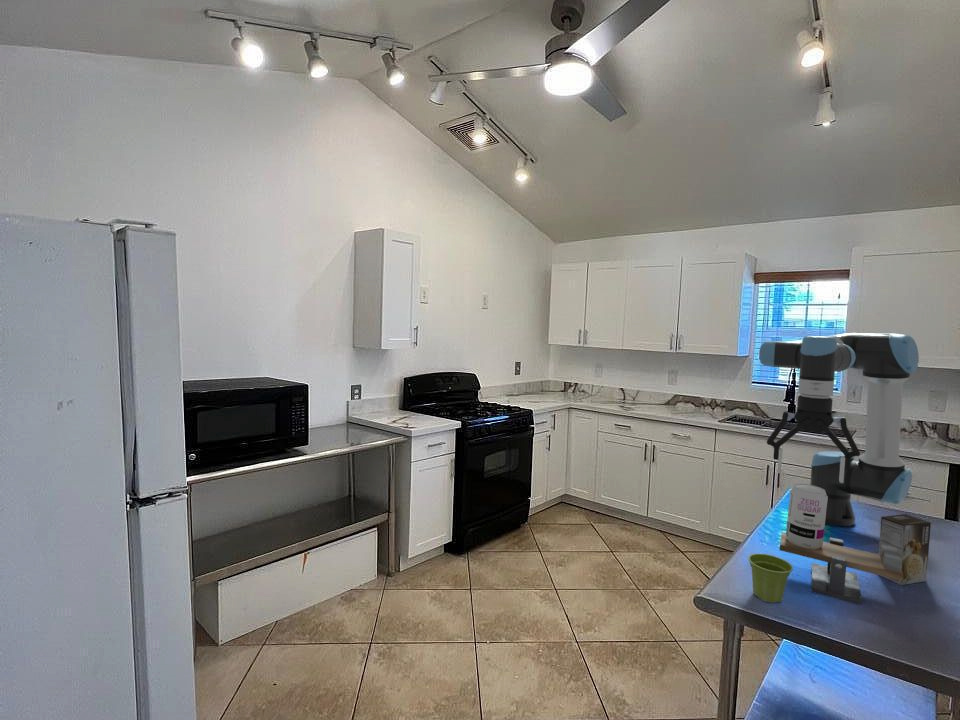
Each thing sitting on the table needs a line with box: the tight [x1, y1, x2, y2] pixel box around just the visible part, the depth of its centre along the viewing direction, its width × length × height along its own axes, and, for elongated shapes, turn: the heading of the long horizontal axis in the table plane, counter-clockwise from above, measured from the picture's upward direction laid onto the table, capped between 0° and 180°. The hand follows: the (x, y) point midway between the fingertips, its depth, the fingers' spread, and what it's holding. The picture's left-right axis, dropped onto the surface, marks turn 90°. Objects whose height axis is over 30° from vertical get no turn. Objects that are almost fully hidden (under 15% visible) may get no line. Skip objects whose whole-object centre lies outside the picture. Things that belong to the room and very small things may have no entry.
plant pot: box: [747, 553, 794, 604], centre depth 124 cm, size 9×9×9 cm
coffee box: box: [878, 513, 932, 586], centre depth 134 cm, size 9×6×16 cm
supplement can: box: [785, 483, 828, 550], centre depth 133 cm, size 8×8×15 cm
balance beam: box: [779, 531, 903, 581], centre depth 130 cm, size 10×25×4 cm, turn 57°
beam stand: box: [810, 537, 863, 606], centre depth 130 cm, size 17×10×10 cm, turn 147°
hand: (809, 476), depth 133 cm, fingers open, 13 cm apart
